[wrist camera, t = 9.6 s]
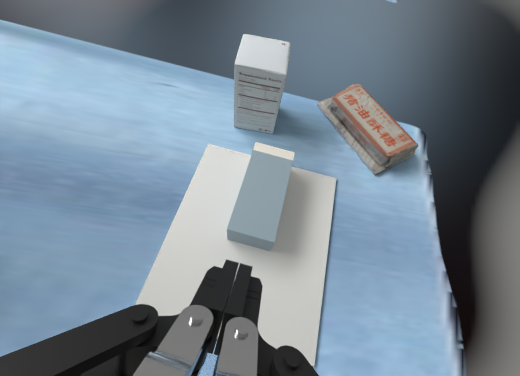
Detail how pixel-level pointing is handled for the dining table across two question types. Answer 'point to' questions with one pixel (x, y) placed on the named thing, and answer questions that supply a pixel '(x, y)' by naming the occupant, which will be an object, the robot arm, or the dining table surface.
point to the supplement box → (259, 82)
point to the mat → (249, 249)
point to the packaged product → (368, 128)
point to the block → (261, 197)
